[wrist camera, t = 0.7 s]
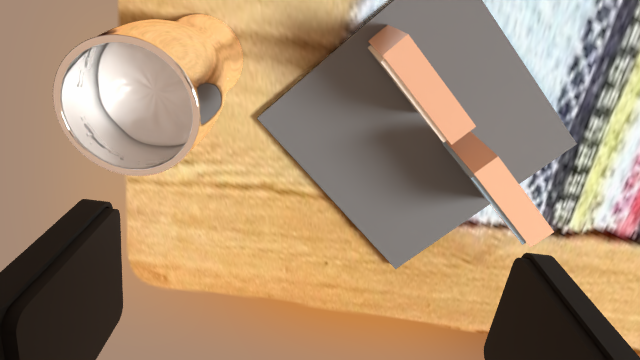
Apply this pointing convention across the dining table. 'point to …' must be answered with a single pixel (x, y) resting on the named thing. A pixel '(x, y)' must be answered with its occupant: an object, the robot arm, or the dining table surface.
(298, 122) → the rubber mat
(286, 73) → the dining table surface
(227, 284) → the dining table surface
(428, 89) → the terracotta tile
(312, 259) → the dining table surface
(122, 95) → the beer glass
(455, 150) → the peach flat block
